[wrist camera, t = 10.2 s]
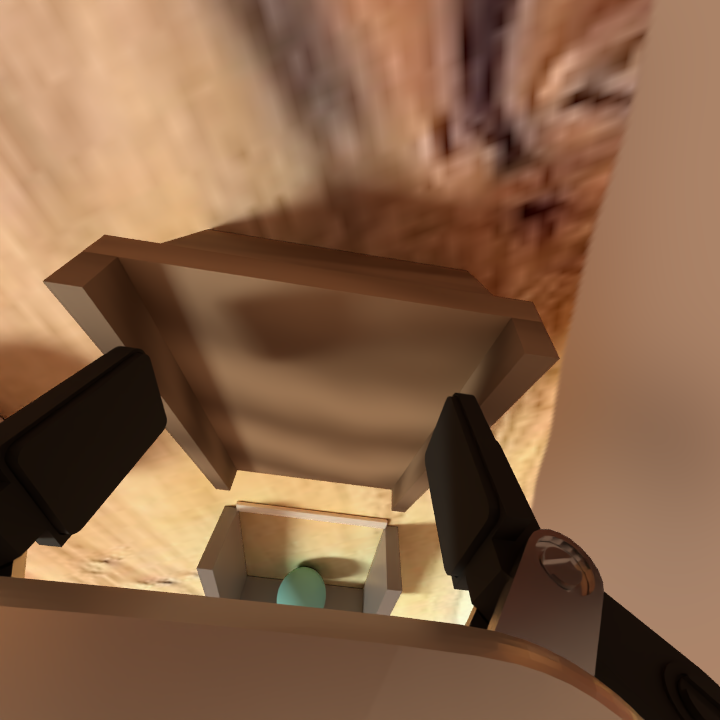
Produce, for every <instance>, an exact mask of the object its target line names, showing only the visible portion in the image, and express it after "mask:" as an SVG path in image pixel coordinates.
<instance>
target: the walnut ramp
mask: <svg viewBox="0 0 720 720" xmlns="http://www.w3.org/2000/svg"><path fill="white" fill-rule="evenodd" d="M43 282H44V284H45V285H46V286H47V287H48V288H49V290H50V291H51V292H52V293H53V294H54V296H55V297H56V298H57V299H58V300H59V302H60V303H61V304H62V305H63V306H64V307H65V309H66V310H67V311H68V312H69V313H70V315H71V316H72V317H73V318H74V319H75V321H76V322H77V323H78V324H79V325H80V327H81V328H82V329H83V330H84V331H85V333H86V334H87V335H88V336H89V337H90V339H91V340H92V341H93V342H94V343H95V345H96V346H97V347H98V348H99V349H100V351H101V352H102V353H103V354H106V353H107V352H109V351H110V350H112V349H113V348H115V347H117V346H125V347H132V348H139V349H142V350H143V351H144V352H145V354H147V355H148V356H149V357H150V359H151V363H152V366H153V370H154V374H155V377H156V381H157V384H158V388H159V392H160V395H161V399H162V402H163V406H164V410H165V413H166V417H167V424H166V427H165V428H166V430H167V431H168V432H169V433H170V434H171V436H172V437H173V438H174V439H175V440H176V442H177V443H178V444H179V445H180V446H181V447H182V449H183V450H184V451H185V452H186V453H187V455H188V456H189V457H190V458H191V459H192V461H193V462H194V463H195V464H196V465H197V467H198V468H199V469H200V470H201V471H202V473H203V474H204V475H205V476H206V477H207V479H208V480H209V481H210V482H211V483H212V485H213V486H214V487H215V488H216V489H221V490H229V491H230V489H231V486H232V483H233V480H234V478H235V475H236V472H237V470H241V471H249V472H257V473H265V474H273V475H281V476H289V477H297V478H304V479H312V480H320V481H328V482H336V483H344V484H352V485H360V486H368V487H375V488H383V489H391V490H392V511H399V512H405V511H406V510H407V509H408V508H409V507H410V506H411V505H412V504H413V503H414V502H415V501H416V500H417V499H418V498H420V497H421V496H422V495H423V494H424V493H425V492H426V491H427V490H428V489H429V483H428V477H427V472H426V467H425V452H426V450H427V447H428V444H429V442H430V439H431V437H432V434H433V432H434V429H435V427H436V424H437V421H438V419H439V416H440V414H441V411H442V409H443V406H444V403H445V401H446V399H447V397H448V396H453V394H454V393H463V394H470V395H474V396H475V398H476V400H477V402H478V404H479V406H480V408H481V410H482V412H483V414H484V417H485V419H486V421H487V423H488V425H489V427H491V426H492V425H493V424H494V423H495V422H496V421H497V420H498V419H499V418H500V417H501V416H502V415H503V414H504V413H505V412H506V411H507V410H508V409H509V408H510V407H511V406H512V405H513V404H514V403H515V402H516V401H517V400H518V399H519V398H520V397H521V396H522V395H523V394H524V393H525V392H526V391H527V390H528V389H529V388H530V387H531V386H532V385H533V384H534V383H535V382H536V381H537V380H538V379H539V378H540V377H541V376H542V375H543V374H544V373H545V372H546V371H548V370H549V369H550V368H551V367H552V366H553V365H554V364H555V363H556V362H557V361H558V360H559V359H560V358H559V356H558V354H557V352H556V350H555V348H554V346H553V344H552V342H551V339H550V337H549V335H548V333H547V331H546V329H545V327H544V325H543V323H542V320H541V318H540V316H539V314H538V312H537V310H536V308H535V306H534V304H533V302H529V301H522V300H516V299H510V298H503V297H497V296H493V295H492V294H491V293H490V292H489V291H488V290H487V289H486V288H485V287H484V286H483V285H482V284H481V283H480V282H479V281H478V280H476V279H475V278H474V277H473V276H472V275H471V274H470V273H469V272H468V271H465V270H458V269H452V268H446V267H440V266H433V265H427V264H421V263H415V262H408V261H402V260H396V259H390V258H384V257H377V256H371V255H365V254H359V253H352V252H346V251H340V250H334V249H327V248H321V247H315V246H309V245H302V244H296V243H290V242H284V241H278V240H271V239H265V238H259V237H253V236H246V235H240V234H234V233H228V232H221V231H215V230H209V229H208V230H204V231H201V232H198V233H194V234H191V235H188V236H184V237H181V238H178V239H174V240H171V241H168V242H164V243H161V244H160V243H154V242H147V241H141V240H135V239H128V238H122V237H116V236H109V235H104V236H102V237H101V238H100V239H98V240H97V241H96V242H94V243H93V244H92V245H90V246H89V247H88V248H86V249H85V250H84V251H83V252H81V253H80V254H78V255H77V256H76V257H74V258H73V259H72V260H70V261H69V262H68V263H66V264H65V265H64V266H62V267H61V268H60V269H58V270H57V271H56V272H54V273H53V274H52V275H50V276H49V277H48V278H46V279H45V280H44V281H43Z"/></svg>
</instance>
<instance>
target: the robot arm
mask: <svg viewBox="0 0 720 720" xmlns="http://www.w3.org/2000/svg"><path fill="white" fill-rule="evenodd" d="M166 424H167V417H166V413H165V410H164V406H163V402H162V399H161V395H160V392H159V388H158V384H157V381H156V377H155V374H154V370H153V366H152V363H151V359H150V357H149V356H148V355H147V354H145V352H144V351H143V350H142V349H139V348H132V347H125V346H117V347H115V348H113V349H112V350H110V351H109V352H107V353H106V354H104V355H103V356H101V357H100V358H98V359H97V360H95V361H94V362H92V363H91V364H89V365H88V366H86V367H85V368H83V369H82V370H80V371H79V372H77V373H75V374H74V375H72V376H71V377H69V378H68V379H66V380H65V381H63V382H62V383H60V384H59V385H57V386H56V387H54V388H53V389H51V390H50V391H48V392H47V393H45V394H44V395H42V396H41V397H39V398H37V399H36V400H34V401H33V402H31V403H30V404H28V405H27V406H25V407H24V408H22V409H21V410H19V411H18V412H16V413H15V414H13V415H12V416H10V417H9V418H7V419H6V420H4V421H3V422H1V423H0V720H720V687H719V686H718V684H716V683H715V682H714V681H713V680H712V679H711V678H710V677H709V676H708V675H707V674H706V673H704V672H703V671H702V670H701V669H700V668H699V667H698V666H696V665H695V664H694V663H693V662H691V661H690V660H689V659H688V658H686V657H685V656H684V655H683V654H681V653H680V652H679V651H678V650H676V649H675V648H674V647H673V646H671V645H670V644H669V643H668V642H666V641H665V640H664V639H663V638H661V637H660V636H659V635H658V634H656V633H655V632H654V631H653V630H651V629H650V628H649V627H648V626H646V625H645V624H644V623H643V622H641V621H640V620H639V619H638V618H636V617H635V616H634V615H633V614H631V613H630V612H629V611H628V610H626V609H625V608H624V607H623V606H622V605H620V604H619V603H618V602H616V601H615V600H614V599H613V598H612V597H610V596H609V595H607V593H605V592H604V588H603V581H602V578H601V576H600V573H599V571H598V569H597V567H596V566H595V564H594V563H593V561H592V560H591V558H590V557H589V556H588V555H587V554H586V552H585V551H584V550H583V549H582V548H581V547H580V546H579V545H577V544H576V543H575V542H574V541H572V540H571V539H570V538H568V537H566V536H565V535H563V534H561V533H559V532H556V531H553V530H550V529H540V527H539V525H538V523H537V521H536V519H535V517H534V515H533V513H532V510H531V508H530V506H529V504H528V502H527V500H526V498H525V496H524V494H523V492H522V489H521V487H520V485H519V483H518V481H517V479H516V477H515V475H514V473H513V471H512V469H511V467H510V464H509V462H508V460H507V458H506V456H505V454H504V452H503V450H502V448H501V446H500V444H499V443H498V441H496V440H495V438H494V436H493V434H492V431H491V429H490V427H489V425H488V423H487V421H486V419H485V417H484V414H483V412H482V410H481V408H480V406H479V404H478V402H477V400H476V398H475V396H474V395H470V394H463V393H454V394H453V396H448V397H447V399H446V401H445V403H444V406H443V409H442V411H441V414H440V416H439V419H438V421H437V424H436V427H435V429H434V432H433V434H432V437H431V439H430V442H429V444H428V447H427V450H426V452H425V467H426V472H427V477H428V483H429V488H430V493H431V499H432V504H433V510H434V515H435V520H436V526H437V531H438V537H439V542H440V547H441V553H442V558H443V564H444V568H445V571H446V574H447V575H450V576H452V581H453V586H454V589H459V590H469V594H470V598H471V602H472V604H473V605H474V607H473V609H472V611H471V613H470V616H469V618H468V620H467V622H466V624H465V625H459V624H451V623H443V622H436V621H428V620H420V619H412V618H404V617H396V616H388V615H379V614H370V613H361V612H351V611H342V610H332V609H323V608H314V607H304V606H295V605H285V604H276V603H266V602H257V601H247V600H237V599H227V598H217V597H208V596H198V595H188V594H178V593H168V592H158V591H148V590H138V589H128V588H118V587H108V586H97V585H87V584H77V583H66V582H56V581H45V580H35V579H25V578H24V577H25V567H26V558H27V549H28V548H29V547H30V546H31V545H32V544H33V543H34V542H35V541H36V542H37V543H38V544H39V545H47V546H57V547H62V546H63V545H64V543H65V542H66V541H67V540H68V539H69V538H70V536H71V535H72V534H75V533H77V532H79V531H80V530H81V529H82V528H83V527H84V526H85V525H86V523H87V522H88V521H89V520H90V519H91V517H92V516H93V515H94V514H95V513H96V511H97V510H98V509H99V508H100V507H101V505H102V504H103V503H104V502H105V500H106V499H107V498H108V497H109V496H110V494H111V493H112V492H113V491H114V490H115V488H116V487H117V486H118V485H119V484H120V482H121V481H122V480H123V479H124V478H125V476H126V475H127V474H128V473H129V471H130V470H131V469H132V468H133V467H134V465H135V464H136V463H137V462H138V461H139V459H140V458H141V457H142V456H143V455H144V453H145V452H146V451H147V450H148V449H149V447H150V446H151V445H152V444H153V442H154V441H155V440H156V439H157V438H158V436H159V435H160V434H161V433H162V432H163V430H164V429H165V427H166Z"/></svg>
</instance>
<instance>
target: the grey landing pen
mask: <svg viewBox="0 0 720 720" xmlns="http://www.w3.org/2000/svg"><path fill="white" fill-rule="evenodd" d="M239 511H242V512H250V513H258V514H267V515H275V516H283V517H291V518H300V519H308V520H316V521H324V522H333V523H341V524H349V525H358V526H366V527H374V528H382V529H384V530H383V533H382V536H381V539H380V542H379V544H378V547H377V550H376V553H375V556H374V559H373V562H372V565H371V567H370V570H369V573H368V576H367V579H366V582H365V585H364V587H363V589H359V588H350V587H341V586H332V585H325V588H326V600H325V605H324V608H323V609H332V610H342V611H351V612H361V613H370V614H379V615H388V616H390V614H391V612H392V610H393V608H394V606H395V604H396V602H397V600H398V598H399V596H400V594H401V593H402V581H401V567H400V553H399V538H398V527H393V526H386V525H387V520H386V519H378V518H370V517H361V516H353V515H345V514H337V513H329V512H321V511H312V510H304V509H296V508H288V507H280V506H271V505H263V504H255V503H247V502H239V501H237V503H236V507H228V506H225V507H224V509H223V512H222V514H221V516H220V518H219V520H218V522H217V525H216V527H215V529H214V531H213V533H212V536H211V538H210V540H209V542H208V544H207V547H206V549H205V551H204V553H203V555H202V558H201V560H200V562H199V564H198V566H197V571H198V574H199V577H200V580H201V583H202V586H203V590H204V593H205V596H208V597H217V598H227V599H237V600H247V601H257V602H266V603H276V604H277V594H278V590H279V587H280V585H281V583H282V581H283V580H278V579H269V578H260V577H251V576H247V571H246V564H245V556H244V548H243V541H242V533H241V525H240V518H239Z"/></svg>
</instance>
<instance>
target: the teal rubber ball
mask: <svg viewBox="0 0 720 720" xmlns="http://www.w3.org/2000/svg"><path fill="white" fill-rule="evenodd" d="M325 600H326V588H325V584H324V581H323V579H322V577H321V576H320V574H319V573H318V572H317V571H315V570H314V569H312V568H309V567H300V568H297V569H295V570H293V571H291V572H290V573H289V574H288V575H287V576H286V577H285V578H284V580H283V581H282V583H281V585H280V587H279V590H278V594H277V604H285V605H295V606H304V607H314V608H324V605H325Z"/></svg>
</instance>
